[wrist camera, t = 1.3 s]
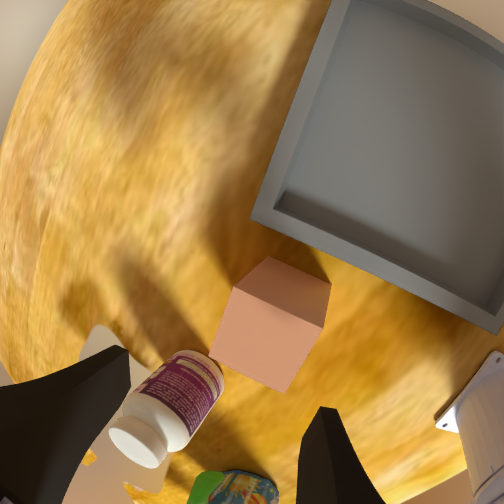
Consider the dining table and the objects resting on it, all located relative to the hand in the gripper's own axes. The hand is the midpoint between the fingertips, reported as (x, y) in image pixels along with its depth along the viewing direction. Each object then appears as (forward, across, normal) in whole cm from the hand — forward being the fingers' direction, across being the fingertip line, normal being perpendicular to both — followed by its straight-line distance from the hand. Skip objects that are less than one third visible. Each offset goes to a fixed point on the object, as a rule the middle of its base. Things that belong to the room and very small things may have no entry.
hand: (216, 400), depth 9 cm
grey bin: (+9, -9, -12) cm, 17 cm away
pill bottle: (+11, +3, +10) cm, 15 cm away
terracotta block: (+10, -2, 0) cm, 10 cm away
